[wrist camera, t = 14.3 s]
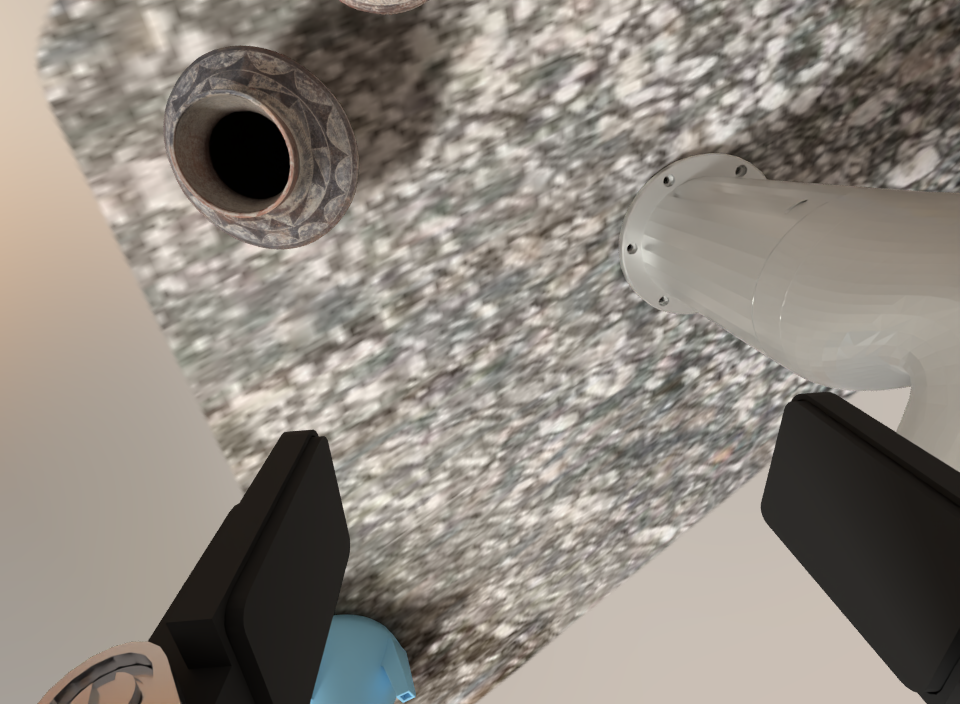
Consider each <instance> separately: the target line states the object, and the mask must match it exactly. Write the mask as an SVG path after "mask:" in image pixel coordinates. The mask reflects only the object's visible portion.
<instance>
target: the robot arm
mask: <svg viewBox="0 0 960 704" xmlns="http://www.w3.org/2000/svg"><path fill="white" fill-rule="evenodd" d="M736 169H737V172H736ZM735 172H736V173H735ZM665 177H666V178H667V181H666V183H663V181H664V178H665ZM629 244H631V248H630V249H629V250H627V247H628V245H629ZM619 259H620V266H621V268H622V271H623V274H624V277H625V279H626V281H627V282H628V284H629V285H630V287H631V289H632V290H633V291H634V292H635V293H636V294H637V295H638V296H639V297H640V298H641V299H643V300H644V301H645V302H647V303H648V304H649V305H651V306H653V307H655V308H657V309H659V310H661V311H665V312H669V313H673V314H694V313H700V314H701V315H703V316H704V317H706V318H707V319H709V320H710V321H712V322H714V323H715V324H717V325H718V326H720V327H721V328H723V329H725V330H726V331H728V332H729V333H731V334H732V335H734V336H736V337H737V338H739V339H740V340H742V341H743V342H745V343H747V344H748V345H750V346H751V347H753V348H754V349H756V350H758V351H759V352H761V353H762V354H764V355H765V356H767V357H769V358H770V359H772V360H773V361H775V362H776V363H778V364H780V365H782V366H783V367H785V368H787V369H788V370H790V371H791V372H793V373H795V374H796V375H798V376H800V377H802V378H804V379H806V380H808V381H811V382H814V383H816V384H819V385H822V386H826V387H830V388H835V389H841V390H849V391H878V390H889V389H897V388H904V387H911V392H910V398H909V401H908V403H907V406H906V409H905V412H904V414H903V417H902V419H901V422H900V424H899V426H898V429H897V432H895V431H893V430H892V429H890V428H888V427H887V426H885V425H883V424H882V423H880V422H879V421H877V420H875V419H874V418H872V417H871V416H869V415H867V414H866V413H864V412H863V411H861V410H860V409H858V408H856V407H855V406H853V405H852V404H850V403H849V402H847V401H845V400H844V399H842V398H841V397H839V396H837V395H836V394H833V393H831V392H819V393H805V394H798V395H796V396H795V397H794V398H793V399H792V401H791V402H789V403H788V404H787V405H786V406H785V409H784V413H783V417H782V421H781V425H780V429H779V433H778V437H777V441H776V445H775V449H774V453H773V457H772V461H771V465H770V469H769V473H768V478H767V481H766V486H765V490H764V494H763V498H762V502H761V512H762V515H763V517H764V520H765V521H766V523H767V524H768V525H769V527H770V528H771V529H772V530H773V531H774V532H775V534H776V535H777V536H778V537H779V538H780V540H781V541H782V542H783V543H784V544H785V545H786V547H787V548H788V549H789V550H790V551H791V553H792V554H793V555H794V556H795V557H796V558H797V560H798V561H799V562H800V563H801V564H802V566H803V567H804V568H805V569H806V570H807V571H808V573H809V574H810V575H811V576H812V577H813V578H814V580H815V581H816V582H817V583H818V584H819V585H820V587H821V588H822V589H823V590H824V591H825V593H826V594H827V595H828V596H829V597H830V599H831V600H832V601H833V602H834V603H835V604H836V606H837V607H838V608H839V609H840V610H841V612H842V613H843V614H844V615H845V616H846V617H847V618H848V619H849V621H850V622H851V623H852V624H853V626H854V627H855V628H856V629H857V630H858V632H859V633H860V634H861V635H862V636H863V637H864V639H865V640H866V641H867V642H868V643H869V645H870V646H871V647H872V648H873V649H874V650H875V652H876V653H877V654H878V655H879V656H880V658H882V660H883V661H884V662H885V663H886V664H887V666H888V667H889V668H890V669H891V670H892V672H893V673H894V674H895V675H896V676H897V678H898V679H899V680H900V681H901V682H902V683H903V684H904V685H905V686H906V687H907V688H909V689H910V690H912V691H914V692H917V693H918V694H919V695H920V696H921V697H922V699H923V700H924V701H925V702H926V703H927V704H960V193H947V192H924V191H911V190H897V189H883V188H870V187H857V186H844V185H831V184H818V183H805V182H792V181H779V180H768V179H767V178H766V177H765V176H764V174H763V173H762V172H761V171H760V170H759V169H758V168H757V167H755V166H754V165H753V164H752V163H750V162H748V161H746V160H744V159H742V158H740V157H737V156H733V155H728V154H723V153H707V154H699V155H692V156H689V157H687V158H684V159H681V160H678V161H676V162H674V163H672V164H670V165H669V166H667V167H665V168H663V169H662V170H661V171H659V172H658V173H657V174H656V175H654V176H653V177H652V178H651V179H649V181H648V182H647V183H646V184H645V185H644V186H643V187H642V188H641V190H640V191H639V192H638V193H637V195H636V196H635V198H634V200H633V201H632V203H631V204H630V206H629V208H628V210H627V213H626V215H625V217H624V220H623V223H622V227H621V231H620V236H619ZM661 297H662V299H661V300H660V301H659V299H660V298H661ZM349 553H350V538H349V533H348V528H347V524H346V519H345V515H344V510H343V506H342V501H341V497H340V493H339V488H338V484H337V479H336V475H335V470H334V466H333V461H332V457H331V453H330V448H329V444H328V440H327V438H326V437H325V436H321V437H319V436H318V434H317V432H316V431H315V430H304V431H290V432H284V433H283V434H282V435H281V437H280V438H279V440H278V442H277V443H276V445H275V447H274V448H273V450H272V451H271V453H270V455H269V456H268V458H267V459H266V461H265V463H264V464H263V466H262V467H261V469H260V471H259V472H258V474H257V476H256V477H255V479H254V480H253V482H252V484H251V485H250V487H249V488H248V490H247V492H246V493H245V495H244V497H243V498H242V500H241V502H240V503H239V504H237V505H235V506H234V507H233V509H232V510H231V511H230V512H229V514H228V516H227V517H226V518H225V520H224V522H223V523H222V525H221V527H220V528H219V530H218V531H217V533H216V534H215V536H214V538H213V539H212V541H211V543H210V544H209V545H208V547H207V549H206V550H205V552H204V553H203V555H202V557H201V558H200V560H199V561H198V563H197V564H196V566H195V568H194V570H193V571H192V572H191V574H190V575H189V577H188V579H187V580H186V582H185V583H184V585H183V587H182V588H181V590H180V591H179V593H178V594H177V596H176V598H175V599H174V601H173V602H172V604H171V606H170V607H169V609H168V610H167V612H166V614H165V615H164V617H163V618H162V620H161V621H160V623H159V625H158V626H157V628H156V629H155V631H154V633H153V634H152V636H151V637H150V639H149V641H145V642H129V643H125V644H122V645H117V646H114V647H111V648H109V649H107V650H105V651H103V652H101V653H99V654H96V655H94V656H92V657H90V658H89V659H88V660H86V661H85V662H83V663H82V664H80V665H79V666H77V667H76V668H74V669H73V670H71V671H70V672H68V673H67V674H66V675H65V676H64V677H63V678H62V679H61V680H60V681H58V682H57V683H56V684H55V685H54V686H53V687H52V688H51V689H49V690H48V692H47V693H46V694H45V695H44V697H43V698H42V699H41V700H40V701H39V702H38V704H310V702H311V698H312V694H313V691H314V687H315V683H316V679H317V675H318V672H319V668H320V664H321V660H322V657H323V653H324V649H325V645H326V641H327V638H328V634H329V630H330V626H331V622H332V619H333V615H334V611H335V607H336V604H337V600H338V596H339V592H340V588H341V585H342V581H343V577H344V573H345V569H346V566H347V562H348V558H349Z"/></svg>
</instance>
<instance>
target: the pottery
mask: <svg viewBox="0 0 960 704" xmlns="http://www.w3.org/2000/svg"><path fill="white" fill-rule="evenodd" d="M339 1H341V2H342V3H344V4H346V5H347V6H349V7H352V8H354V9H357V10H360V11H364V12H370V13H376V14H383V15H386V14H389V15H392V14H398V13H403V12H407V11H410V10H413V9H415V8H417V7H419V6H421V5H423V4H424V3H426V2H427V1H429V0H339ZM164 142H165V148H166V153H167V156H168V160H169V162H170V165H171V168H172V170H173V173H174V175H175V177H176V180H177V182H178V184H179V185H180V187H181V189H182V191H183V192H184V194H185V195H186V197H187V198H188V199H189V200H190V202H191V203H192V204H193V205H194V206H195V207H196V208H197V210H198V211H199V212H201V213H202V214H203V215H204V216H205V217H206V218H207V219H208V220H209V221H210V222H211V223H212V224H214V225H215V226H216V227H218V228H219V229H221V230H222V231H224V232H225V233H227V234H228V235H230V236H232V237H234V238H236V239H238V240H240V241H243V242H245V243H248V244H251V245H255V246H258V247H263V248H269V249H291V248H297V247H301V246H304V245H308V244H310V243H312V242H314V241H316V240H318V239H319V238H321V237H322V236H324V235H325V234H327V233H328V232H329V231H330V230H331V229H332V228H334V227H335V225H336V224H337V223H338V222H339V221H340V220H341V218H342V217H343V216H344V215H345V213H346V211H347V210H348V208H349V206H350V204H351V203H352V200H353V198H354V195H355V191H356V187H357V181H358V173H359V156H358V149H357V143H356V139H355V135H354V132H353V129H352V126H351V124H350V121H349V119H348V117H347V115H346V113H345V111H344V110H343V108H342V106H341V105H340V103H339V102H338V100H337V99H336V98H335V96H334V95H333V94H332V93H331V92H330V91H329V89H328V88H327V87H326V86H325V85H324V84H323V83H322V82H321V81H320V80H319V79H318V78H317V77H316V76H315V75H313V74H312V73H311V72H310V71H308V70H307V69H306V68H305V67H303V66H302V65H301V64H299V63H297V62H296V61H294V60H293V59H291V58H289V57H287V56H285V55H282V54H280V53H277V52H275V51H271V50H268V49H264V48H259V47H253V46H230V47H225V48H220V49H216V50H213V51H211V52H208V53H206V54H204V55H202V56H201V57H199V58H198V59H196V60H195V61H194V62H193V63H192V64H191V65H190V66H189V67H188V68H187V69H186V70H185V71H184V72H183V73H182V75H181V76H180V77H179V79H178V80H177V82H176V84H175V86H174V88H173V90H172V92H171V94H170V96H169V99H168V101H167V105H166V109H165V115H164Z"/></svg>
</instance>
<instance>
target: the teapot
mask: <svg viewBox="0 0 960 704" xmlns="http://www.w3.org/2000/svg"><path fill="white" fill-rule="evenodd" d="M396 697H397V698H398V699H399V700H400V701H401V702H402V703H404V702H406V701H408V700H410V699H412V698H414V697H416V693H415V688H414V684H413V680H412V675H411V671H410V666H409V662H408V657H407V653H406V651H405V650H404V649H403V648H402V647H401V645H400V644H399V642H398V641H397V639H396V638H395V637H394V635H393V634H392V633H391V632H390V631H389V630H388V629H387V628H386V627H385V626H384V625H382V624H381V623H379V622H377V621H375V620H373V619H371V618H367V617H364V616H359V615H350V614H343V615H334V616H333V619H332V622H331V626H330V630H329V634H328V638H327V641H326V645H325V649H324V653H323V657H322V660H321V664H320V668H319V672H318V675H317V679H316V683H315V687H314V691H313V694H312V698H311V702H310V704H394V702H395V699H396Z"/></svg>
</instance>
